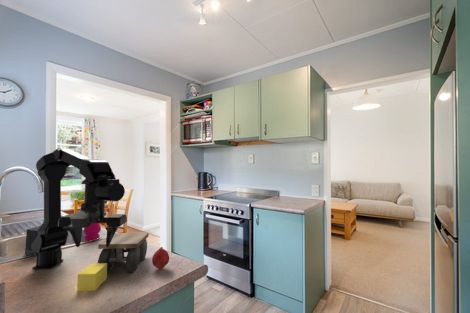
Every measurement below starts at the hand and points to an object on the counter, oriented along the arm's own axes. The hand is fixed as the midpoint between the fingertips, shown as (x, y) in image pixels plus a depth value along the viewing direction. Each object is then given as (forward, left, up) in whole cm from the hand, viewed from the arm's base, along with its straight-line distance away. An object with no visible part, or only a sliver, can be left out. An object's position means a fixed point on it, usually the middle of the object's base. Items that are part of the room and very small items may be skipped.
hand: (92, 246), depth 70 cm
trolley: (+6, +10, -11) cm, 16 cm away
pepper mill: (-22, +40, -11) cm, 47 cm away
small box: (-34, +26, -11) cm, 44 cm away
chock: (+2, -3, -11) cm, 11 cm away
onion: (+20, +6, -11) cm, 24 cm away
